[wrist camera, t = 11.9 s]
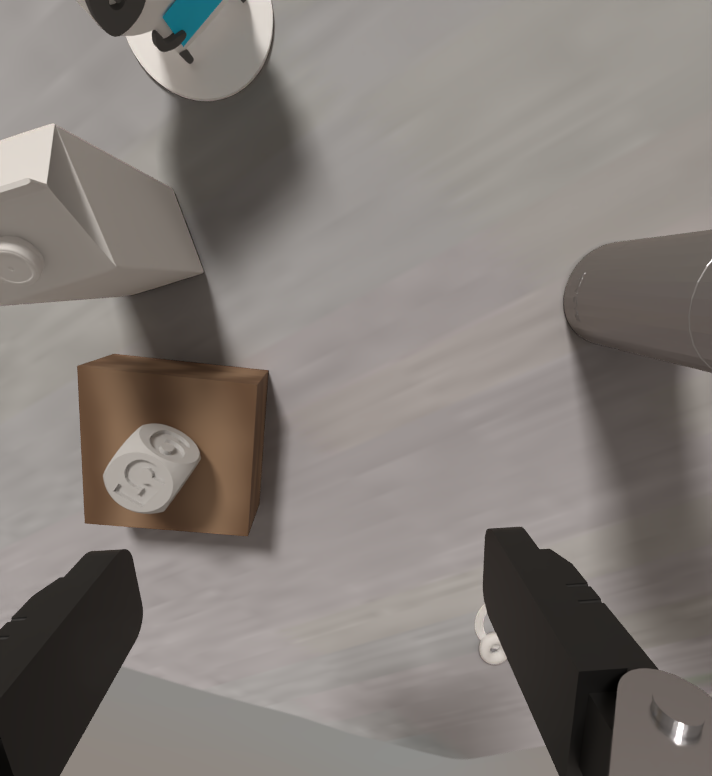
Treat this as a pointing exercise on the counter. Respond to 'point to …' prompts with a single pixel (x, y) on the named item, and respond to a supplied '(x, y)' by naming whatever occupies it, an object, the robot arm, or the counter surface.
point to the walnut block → (187, 414)
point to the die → (151, 468)
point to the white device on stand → (192, 41)
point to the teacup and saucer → (488, 641)
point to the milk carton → (84, 223)
